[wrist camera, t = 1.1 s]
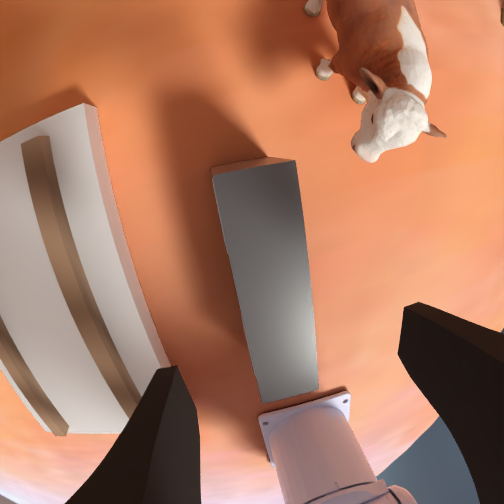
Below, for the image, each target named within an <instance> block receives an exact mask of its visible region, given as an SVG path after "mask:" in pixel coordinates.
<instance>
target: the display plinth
mask: <svg viewBox="0 0 504 504" xmlns="http://www.w3.org/2000/svg"><path fill="white" fill-rule="evenodd" d="M165 367H171V365H170V362H169V360H168V358H167V355H166V353H165V350H164V348H163V345H162V343H161V340H160V338H159V335H158V333H157V330H156V328H155V325H154V322H153V320H152V317H151V314H150V312H149V309H148V306H147V303H146V300H145V298H144V295H143V292H142V289H141V286H140V283H139V280H138V277H137V274H136V271H135V268H134V265H133V261H132V258H131V255H130V252H129V248H128V245H127V241H126V238H125V235H124V231H123V227H122V224H121V220H120V216H119V213H118V209H117V205H116V201H115V197H114V193H113V189H112V184H111V180H110V175H109V171H108V166H107V162H106V157H105V152H104V147H103V141H102V136H101V130H100V124H99V118H98V112H97V107H94V106H91V105H88V104H85V103H82V104H80V105H77V106H75V107H72V108H70V109H67V110H65V111H62V112H60V113H58V114H55V115H53V116H51V117H48V118H46V119H44V120H42V121H40V122H38V123H35V124H33V125H31V126H29V127H27V128H25V129H23V130H21V131H19V132H17V133H15V134H14V135H12V136H10V137H8V138H6V139H4V140H2V141H1V142H0V369H1V370H2V372H3V373H4V375H5V377H6V378H7V380H8V381H9V383H10V384H11V386H12V387H13V389H14V390H15V392H16V393H17V394H18V396H19V397H20V399H21V400H22V401H23V403H24V404H25V405H26V407H27V408H28V409H29V411H30V412H31V413H32V415H33V416H34V417H35V419H36V420H37V421H38V422H39V424H40V425H41V426H42V427H43V428H44V430H45V431H46V432H53V434H54V435H55V436H66V435H67V433H81V434H112V433H121V432H122V431H123V429H124V427H125V426H126V424H127V422H128V421H129V419H130V417H131V415H132V414H133V412H134V410H135V408H136V407H137V405H138V403H139V401H140V399H141V398H142V396H143V394H144V392H145V390H146V388H147V386H148V384H149V383H150V381H151V379H152V377H153V375H154V373H155V372H156V370H157V369H159V368H165Z"/></svg>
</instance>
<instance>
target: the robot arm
mask: <svg viewBox="0 0 504 504" xmlns="http://www.w3.org/2000/svg"><path fill="white" fill-rule="evenodd" d="M398 356H399V358H400V360H401V361H402V363H403V365H404V367H405V369H406V370H407V372H408V374H409V375H410V377H411V378H412V380H413V381H414V383H415V384H416V385H417V387H418V388H419V389H420V390H421V392H422V393H423V394H424V396H425V397H426V398H427V400H428V401H429V402H430V404H431V405H432V406H433V408H434V409H435V410H436V412H437V413H438V414H439V415H440V417H441V418H442V420H443V421H444V422H445V424H446V425H447V427H448V428H449V430H450V432H451V433H452V435H453V437H454V439H455V441H456V443H457V444H458V447H459V449H460V450H461V453H462V455H463V457H464V459H465V462H466V464H467V466H468V468H469V471H470V473H471V476H472V479H473V481H474V484H475V487H476V491H477V494H478V498H479V501H480V504H504V334H503V333H500V332H497V331H494V330H491V329H488V328H485V327H483V326H480V325H477V324H475V323H472V322H469V321H467V320H464V319H462V318H459V317H457V316H455V315H452V314H450V313H447V312H445V311H442V310H440V309H437V308H434V307H432V306H429V305H426V304H423V303H420V302H417V303H414V304H412V305H409V306H406V307H404V311H403V320H402V328H401V335H400V342H399V349H398ZM350 401H351V394H350V392H349V391H343V392H340V393H337V394H334V395H331V396H328V397H324V398H321V399H318V400H314V401H311V402H307V403H304V404H300V405H296V406H293V407H289V408H285V409H281V410H277V411H273V412H268V413H264V414H261V415H260V416H259V417H258V420H259V424H260V428H261V431H262V435H263V438H264V442H265V445H266V448H267V452H268V455H269V459H270V462H271V465H272V467H274V468H276V471H277V474H278V478H279V482H280V486H281V490H282V494H283V497H284V501H285V504H417V502H416V501H415V499H414V498H413V496H412V495H411V494H410V493H409V492H408V491H407V490H406V489H404V488H401V487H398V486H396V485H393V486H390V487H388V488H387V486H386V484H385V482H384V480H380V481H377V479H376V477H375V475H374V473H373V471H372V469H371V467H370V465H369V463H368V461H367V459H366V457H365V455H364V453H363V451H362V449H361V447H360V445H359V443H358V441H357V439H356V437H355V435H354V433H353V431H352V429H351V427H350V425H349V414H350ZM65 504H201V489H200V434H199V425H198V417H197V409H196V407H195V405H194V403H193V401H192V398H191V396H190V394H189V392H188V390H187V388H186V385H185V383H184V381H183V379H182V376H181V374H180V372H179V369H178V367H177V366H172V367H165V368H159V369H157V370H156V372H155V373H154V375H153V377H152V379H151V381H150V383H149V384H148V386H147V388H146V390H145V392H144V394H143V396H142V398H141V399H140V401H139V403H138V405H137V407H136V408H135V410H134V412H133V414H132V415H131V417H130V419H129V421H128V422H127V424H126V426H125V427H124V429H123V431H122V432H121V434H120V435H119V437H118V438H117V440H116V441H115V443H114V445H113V446H112V448H111V449H110V451H109V452H108V454H107V455H106V456H105V458H104V459H103V461H102V462H101V463H100V465H99V466H98V467H97V468H96V470H95V471H94V472H93V473H92V475H91V476H90V477H89V478H88V479H87V481H86V482H85V483H84V484H83V485H82V486H81V487H80V488H79V489H78V490H77V491H76V493H75V494H74V495H73V496H72V497H71V498H70V499H69V500H68V501H67V502H66V503H65Z"/></svg>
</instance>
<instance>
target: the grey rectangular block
mask: <svg viewBox="0 0 504 504" xmlns="http://www.w3.org/2000/svg"><path fill="white" fill-rule="evenodd" d="M211 173H212V178H213V179H212V183H213V188H214V193H215V198H216V203H217V208H218V213H219V218H220V223H221V228H222V232H223V237H224V242H225V247H226V251H227V255H228V256H229V261H230V265H231V270H232V275H233V279H234V284H235V288H236V293H237V298H238V302H239V307H240V311H241V315H242V317H241V319H242V324H243V328H244V332H245V337H246V341H247V345H248V350H249V354H250V358H251V362H252V367H253V371H254V375H255V377H256V380H257V384H258V388H259V392H260V396H261V400H262V404H264V403H269V402H273V401H277V400H281V399H285V398H289V397H293V396H297V395H300V394H304V393H307V392H311V391H314V390H318V389H319V384H318V366H317V351H316V337H315V324H314V312H313V301H312V290H311V280H310V270H309V261H308V252H307V243H306V235H305V226H304V218H303V211H302V203H301V196H300V189H299V182H298V175H297V168H296V162H295V160H289V159H281V158H273V157H264V158H258V159H253V160H247V161H242V162H236V163H231V164H226V165H221V166H216V167H211Z"/></svg>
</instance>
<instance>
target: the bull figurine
mask: <svg viewBox="0 0 504 504" xmlns="http://www.w3.org/2000/svg"><path fill="white" fill-rule="evenodd" d="M321 5H322V0H308V2H307V3H306V5H305V7H304V10H305V12H306V13H307V14H308V15H310V16H313V17H316V16H318V15H319V14H320V10H321ZM327 11H328V15H329V18H330V21H331V23H332V25H333V27H334V28H335V30H336V32H337V37H338V42H339V51H338V53H337V55H336V56H335V57H333V58H332V60H327V59H324V58H323V59H321V60H320V61H321V64H320V65H319V66H318V67H317V68H316V71H315V73H316V76H317V77H318V78H319V79H321V80H327V79H329V77H330V76H331V75H332V73H333V72H334V73H339V74H341V75H342V76H345V77H347V79H348V80H349V81H350V82H352V83H353V84H355V85H356V87H355V89H354V91H353V92H352V98H353V100H354V101H355V102H356V103H357V104H364V103H365V102H367V104H366V105H365V107H364V109H363V111H362V116H361V127H360V130H359V131H357V132H356V133H355V134H354V136H353V137H352V141H351V146H352V149H353V150H354V151H355V152H356V154H357V155H358V156H359V157H360V158H361V159H363V160H365V161H367V162H369V163H373V162H375V161H376V160H377V159H378V158H379V156H380V154H381V153H382V152H384V151H386V150H389V149H395V148H398V147H404V146H407V145H408V144H410V143H412V142H414V141H415V140H416V139H417V137H418V135H419V134H420V133H421V132H424V133H426V134H428V135H431V136H435V137H444V138H446V137H447V136H446V134H445V133H443V132H441V131H440V130H439V129H438V128H437V127H436V126H434V125H433V124H430V123H429V122H428V117H427V114H426V112H425V110H424V106H425V104H426V102H427V99H428V96H429V92H430V87H431V82H432V75H431V70H430V67H429V63H428V49H427V44H426V40H425V37H424V35H423V33H422V30H421V26H420V22H419V18H418V14H417V10H416V7H415V3H414V0H327Z"/></svg>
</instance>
